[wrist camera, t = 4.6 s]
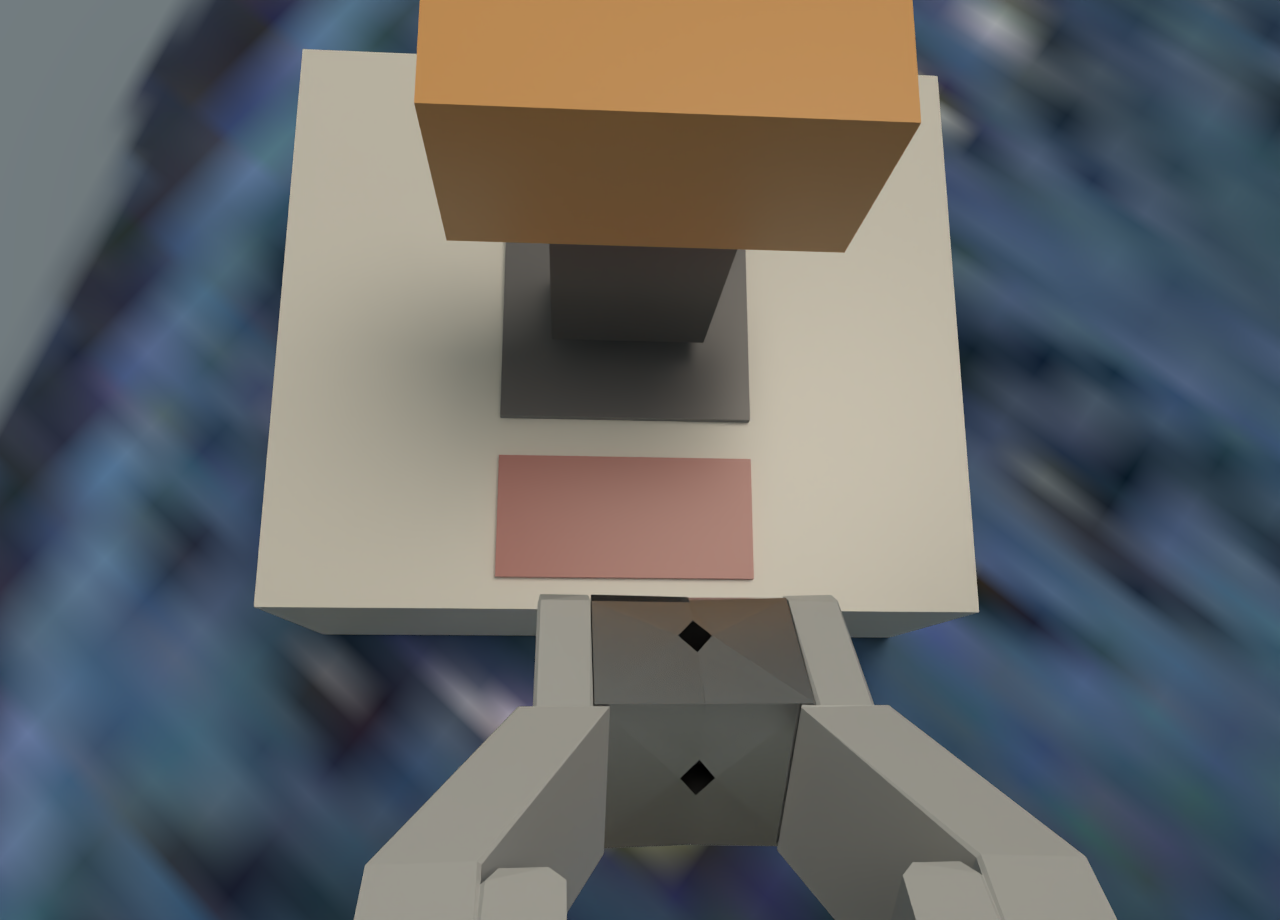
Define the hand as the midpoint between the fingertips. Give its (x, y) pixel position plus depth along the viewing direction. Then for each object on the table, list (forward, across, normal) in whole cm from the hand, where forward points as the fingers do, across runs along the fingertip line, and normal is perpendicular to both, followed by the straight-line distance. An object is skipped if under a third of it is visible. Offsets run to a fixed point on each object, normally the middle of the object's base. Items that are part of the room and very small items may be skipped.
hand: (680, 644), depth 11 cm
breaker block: (+16, 0, +6) cm, 17 cm away
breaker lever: (+12, 0, +1) cm, 12 cm away
